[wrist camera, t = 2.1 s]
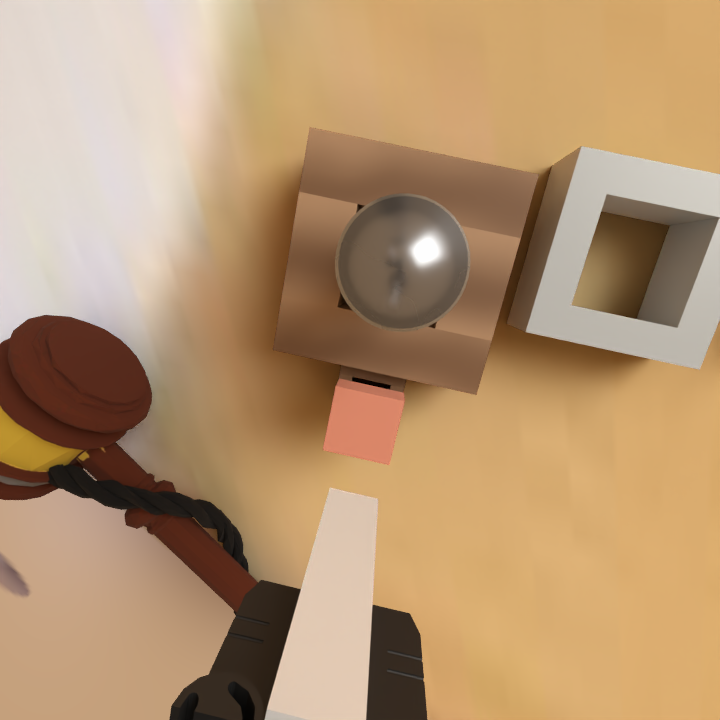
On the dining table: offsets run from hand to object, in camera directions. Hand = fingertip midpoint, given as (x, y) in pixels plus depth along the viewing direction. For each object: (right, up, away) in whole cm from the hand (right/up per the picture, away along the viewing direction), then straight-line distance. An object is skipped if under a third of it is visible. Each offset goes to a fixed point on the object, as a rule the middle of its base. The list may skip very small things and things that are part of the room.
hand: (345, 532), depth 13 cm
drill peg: (+3, +11, +15) cm, 19 cm away
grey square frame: (+16, +11, +14) cm, 24 cm away
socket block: (+2, +9, +15) cm, 18 cm away
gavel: (-13, -5, +20) cm, 24 cm away
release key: (+1, +3, +14) cm, 14 cm away
